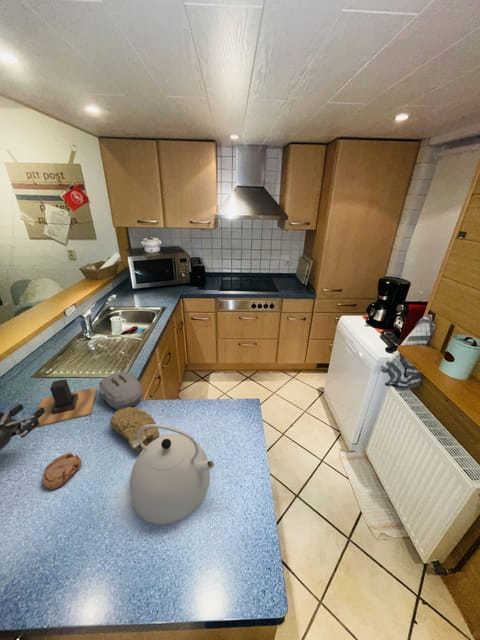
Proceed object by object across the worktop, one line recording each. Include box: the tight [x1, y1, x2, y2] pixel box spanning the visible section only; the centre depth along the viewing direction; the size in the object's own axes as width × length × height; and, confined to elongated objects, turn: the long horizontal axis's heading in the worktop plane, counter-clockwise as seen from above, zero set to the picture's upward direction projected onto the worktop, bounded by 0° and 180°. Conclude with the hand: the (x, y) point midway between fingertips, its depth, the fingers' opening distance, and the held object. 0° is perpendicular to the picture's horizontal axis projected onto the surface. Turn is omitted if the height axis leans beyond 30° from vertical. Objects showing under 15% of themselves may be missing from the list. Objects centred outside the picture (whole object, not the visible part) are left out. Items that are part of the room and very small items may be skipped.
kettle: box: [129, 423, 216, 525], centre depth 70 cm, size 25×23×23 cm
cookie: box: [42, 452, 82, 490], centre depth 76 cm, size 10×11×3 cm
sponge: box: [109, 406, 160, 452], centre depth 89 cm, size 13×8×20 cm
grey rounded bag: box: [98, 370, 144, 411], centre depth 106 cm, size 15×8×20 cm
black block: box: [49, 378, 73, 408], centre depth 99 cm, size 4×4×11 cm
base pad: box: [32, 387, 97, 428], centre depth 101 cm, size 20×16×3 cm
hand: (32, 407), depth 87 cm, fingers open, 8 cm apart
